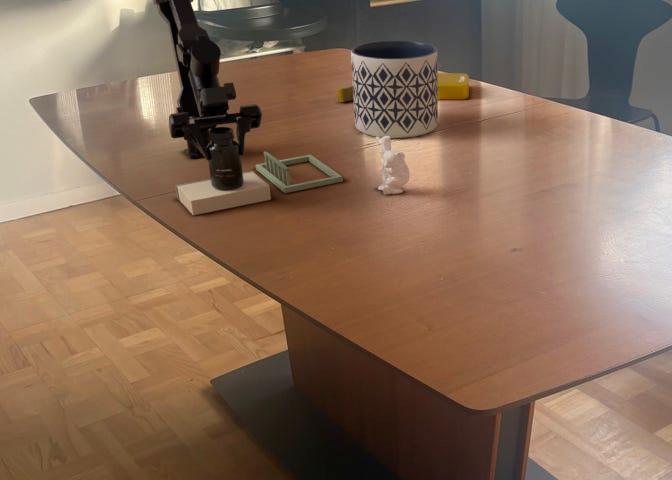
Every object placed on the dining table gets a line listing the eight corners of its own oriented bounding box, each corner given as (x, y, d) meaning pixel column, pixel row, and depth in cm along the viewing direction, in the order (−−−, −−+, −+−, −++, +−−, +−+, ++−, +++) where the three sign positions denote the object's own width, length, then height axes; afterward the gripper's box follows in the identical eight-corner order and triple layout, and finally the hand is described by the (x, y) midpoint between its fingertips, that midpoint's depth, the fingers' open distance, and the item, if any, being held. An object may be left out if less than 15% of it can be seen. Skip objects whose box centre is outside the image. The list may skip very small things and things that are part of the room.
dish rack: (255, 169, 196) (253, 150, 194) (310, 159, 202) (309, 140, 200) (284, 193, 183) (282, 173, 181) (342, 181, 189) (341, 161, 187)
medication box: (368, 95, 253) (367, 81, 252) (374, 95, 252) (373, 82, 250) (337, 101, 246) (335, 87, 244) (343, 102, 244) (341, 88, 242)
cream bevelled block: (177, 199, 180) (174, 185, 178) (254, 184, 188) (252, 170, 186) (192, 215, 172) (189, 201, 170) (271, 199, 180) (270, 185, 178)
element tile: (468, 99, 248) (468, 83, 246) (418, 99, 248) (418, 83, 246) (468, 87, 261) (468, 71, 259) (420, 87, 261) (420, 71, 259)
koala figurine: (368, 189, 185) (365, 136, 179) (393, 183, 188) (391, 130, 182) (390, 200, 179) (388, 146, 173) (415, 193, 183) (414, 140, 176)
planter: (340, 133, 220) (334, 54, 209) (377, 111, 238) (374, 37, 227) (417, 143, 213) (416, 62, 202) (450, 120, 230) (450, 44, 220)
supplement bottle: (222, 193, 174) (213, 137, 168) (205, 184, 178) (197, 129, 172) (250, 185, 178) (243, 130, 172) (234, 177, 182) (226, 122, 176)
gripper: (161, 74, 166) (179, 144, 163) (254, 65, 172) (273, 132, 170) (162, 103, 176) (179, 170, 173) (250, 94, 182) (268, 158, 180)
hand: (225, 157), depth 174 cm, fingers closed on supplement bottle, 7 cm apart
